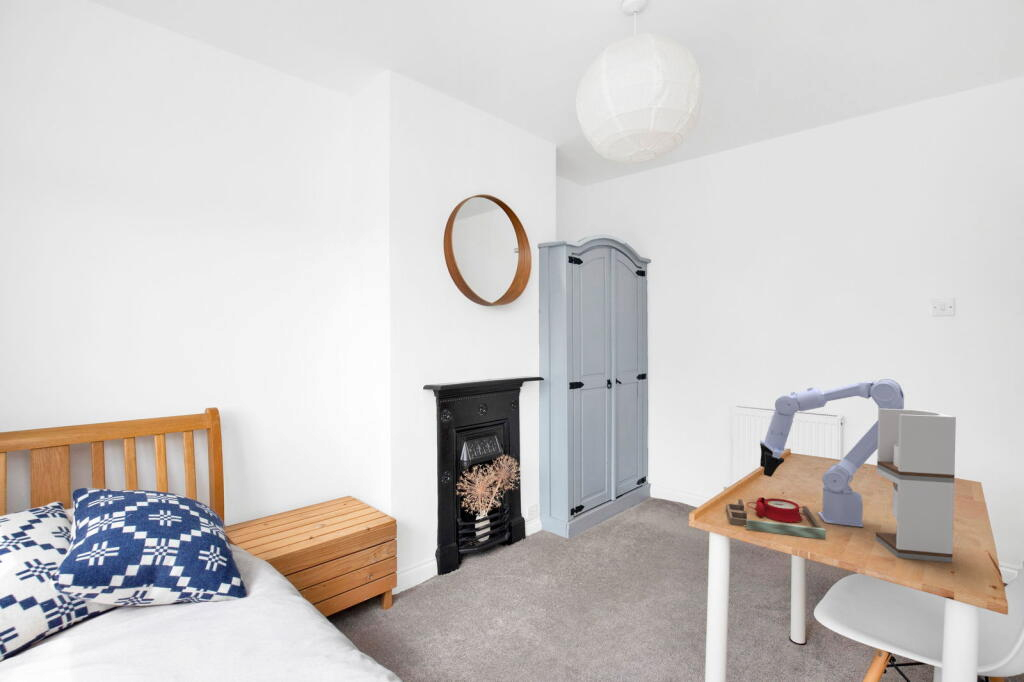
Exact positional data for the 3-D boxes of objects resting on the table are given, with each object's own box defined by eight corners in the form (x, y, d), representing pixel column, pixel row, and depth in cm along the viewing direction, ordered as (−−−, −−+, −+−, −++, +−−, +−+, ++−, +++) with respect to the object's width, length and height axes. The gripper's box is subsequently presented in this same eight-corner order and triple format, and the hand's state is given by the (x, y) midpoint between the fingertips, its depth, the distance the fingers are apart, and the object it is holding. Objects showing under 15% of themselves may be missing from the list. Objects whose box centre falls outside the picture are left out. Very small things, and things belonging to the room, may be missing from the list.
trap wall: (806, 512, 150) (806, 504, 150) (825, 539, 130) (825, 530, 130) (738, 504, 156) (738, 496, 156) (746, 529, 136) (746, 520, 136)
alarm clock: (807, 514, 139) (750, 493, 146) (800, 534, 140) (744, 513, 147) (805, 503, 148) (752, 484, 155) (799, 522, 149) (746, 503, 156)
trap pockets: (740, 510, 151) (740, 504, 151) (745, 526, 139) (745, 519, 139) (726, 508, 152) (726, 503, 152) (730, 524, 140) (730, 517, 140)
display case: (924, 544, 128) (928, 410, 128) (952, 562, 118) (955, 417, 117) (875, 539, 130) (878, 408, 130) (898, 557, 120) (901, 414, 119)
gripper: (761, 421, 162) (749, 459, 165) (768, 434, 149) (755, 475, 151) (784, 428, 160) (772, 466, 163) (793, 441, 147) (779, 483, 149)
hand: (765, 471), depth 157 cm, fingers open, 7 cm apart
